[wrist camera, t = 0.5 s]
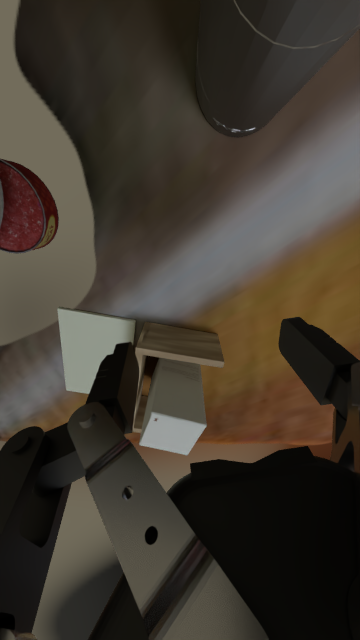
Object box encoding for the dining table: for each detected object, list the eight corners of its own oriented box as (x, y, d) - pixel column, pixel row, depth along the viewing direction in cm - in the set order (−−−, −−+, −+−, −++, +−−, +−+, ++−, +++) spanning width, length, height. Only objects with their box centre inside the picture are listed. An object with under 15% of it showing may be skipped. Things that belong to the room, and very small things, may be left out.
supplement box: (150, 378, 39) (136, 445, 28) (162, 348, 36) (150, 411, 25) (187, 388, 40) (187, 457, 29) (201, 360, 37) (208, 426, 26)
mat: (59, 306, 33) (57, 308, 32) (135, 320, 33) (135, 321, 33) (67, 387, 41) (66, 390, 41) (128, 397, 42) (127, 399, 41)
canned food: (42, 244, 33) (-27, 274, 26) (-7, 169, 27) (-110, 182, 21) (87, 232, 27) (11, 266, 20) (35, 132, 21) (-91, 135, 15)
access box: (145, 321, 33) (135, 347, 27) (217, 334, 34) (224, 362, 28) (135, 398, 42) (127, 431, 36) (194, 406, 43) (195, 440, 37)
